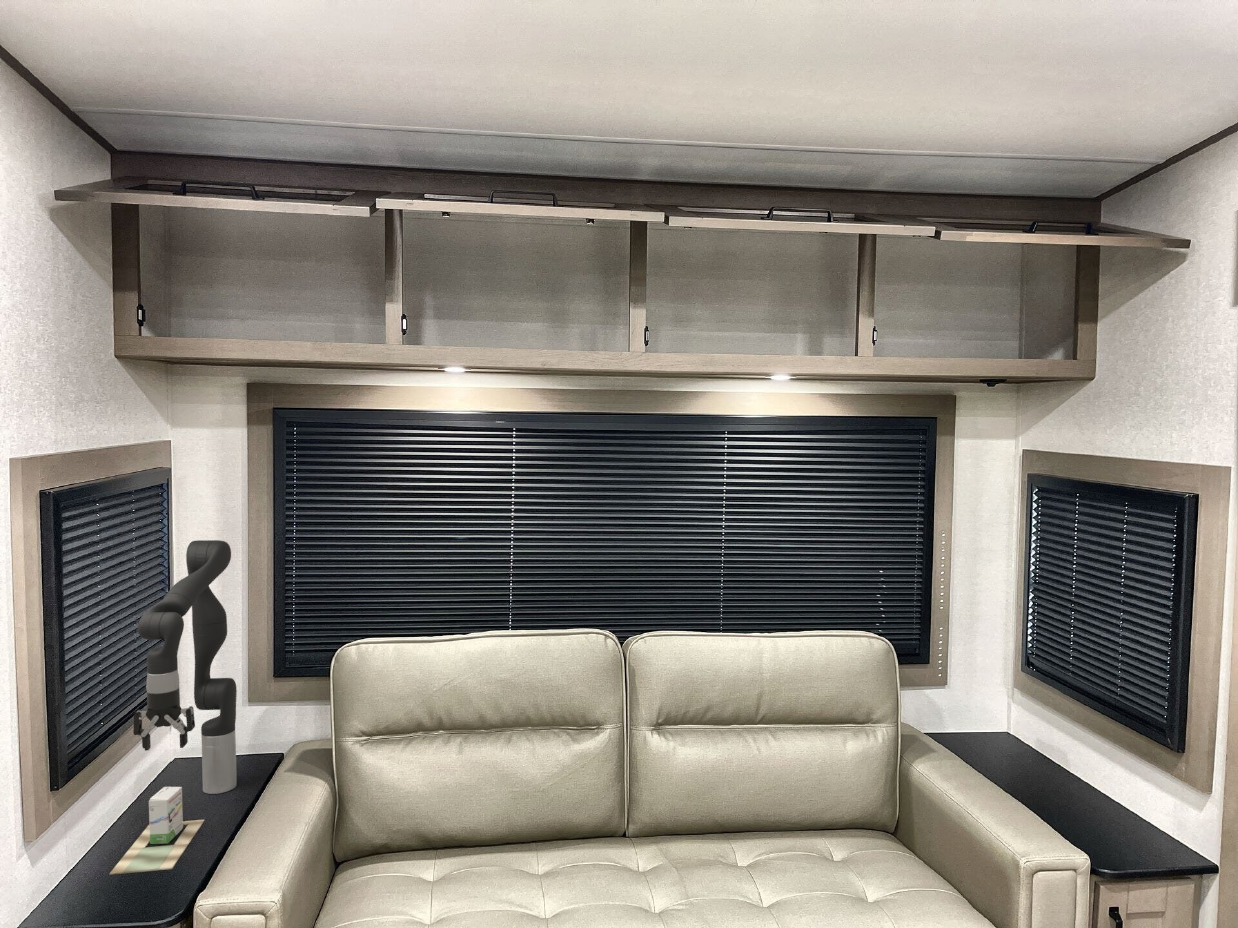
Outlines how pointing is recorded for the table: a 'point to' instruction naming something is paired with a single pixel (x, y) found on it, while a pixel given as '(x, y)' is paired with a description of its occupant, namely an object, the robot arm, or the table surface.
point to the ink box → (165, 815)
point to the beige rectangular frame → (155, 852)
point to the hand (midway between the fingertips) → (165, 748)
